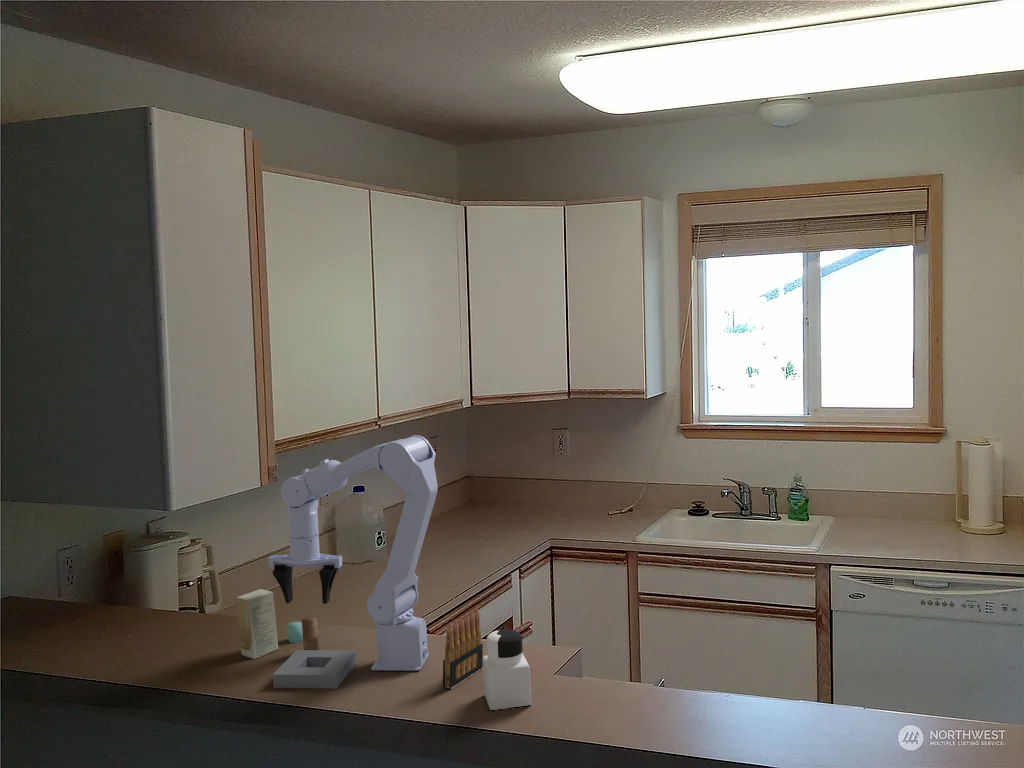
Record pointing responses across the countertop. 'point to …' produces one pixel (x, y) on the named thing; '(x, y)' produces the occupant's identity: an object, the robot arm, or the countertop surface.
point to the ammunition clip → (462, 649)
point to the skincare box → (257, 623)
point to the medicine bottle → (506, 671)
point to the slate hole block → (315, 669)
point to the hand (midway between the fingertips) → (307, 601)
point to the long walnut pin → (310, 633)
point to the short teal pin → (295, 632)
